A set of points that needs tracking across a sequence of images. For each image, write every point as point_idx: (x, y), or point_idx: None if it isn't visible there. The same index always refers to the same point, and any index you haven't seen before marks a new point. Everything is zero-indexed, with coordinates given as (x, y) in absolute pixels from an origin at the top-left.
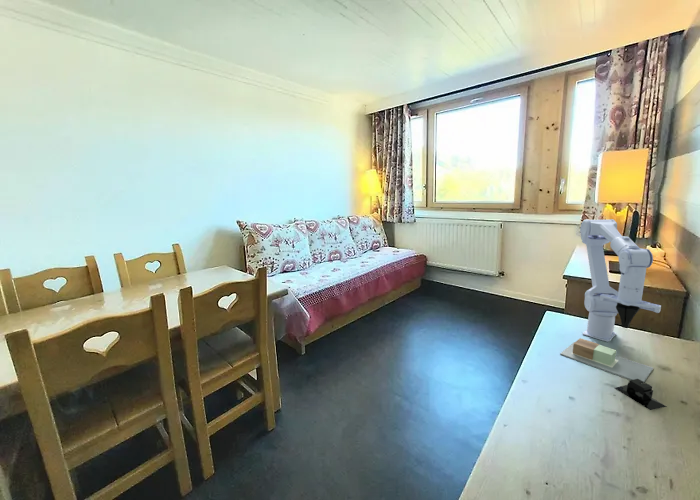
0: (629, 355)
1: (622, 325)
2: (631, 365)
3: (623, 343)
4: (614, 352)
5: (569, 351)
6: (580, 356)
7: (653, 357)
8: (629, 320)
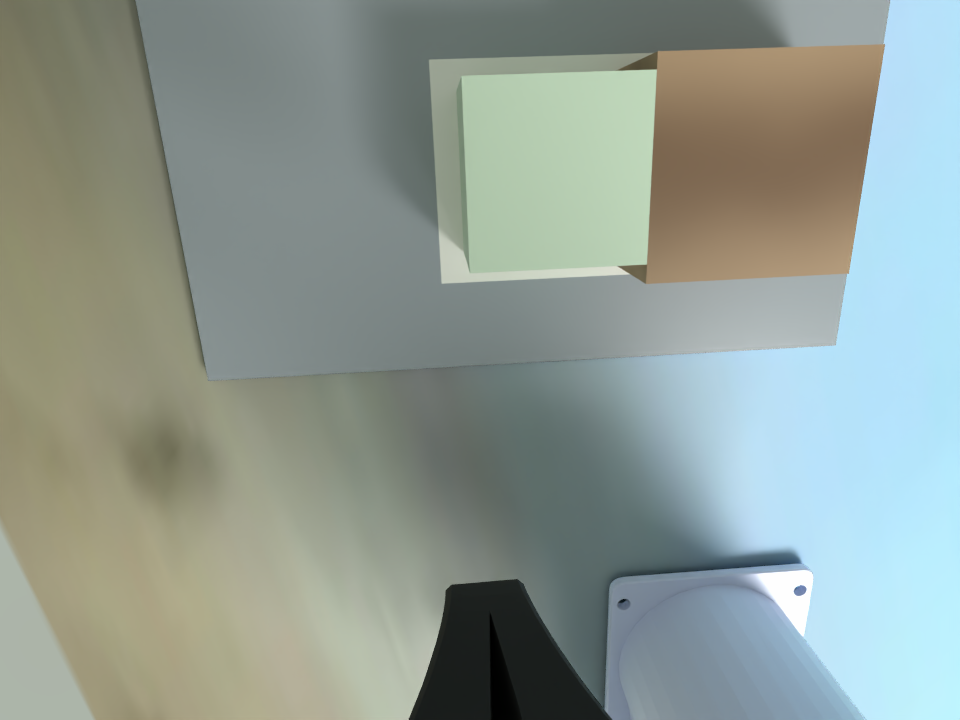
0: (420, 474)
1: (519, 598)
2: (333, 268)
3: None
4: (466, 193)
5: None
6: None
7: (290, 581)
8: (420, 709)
